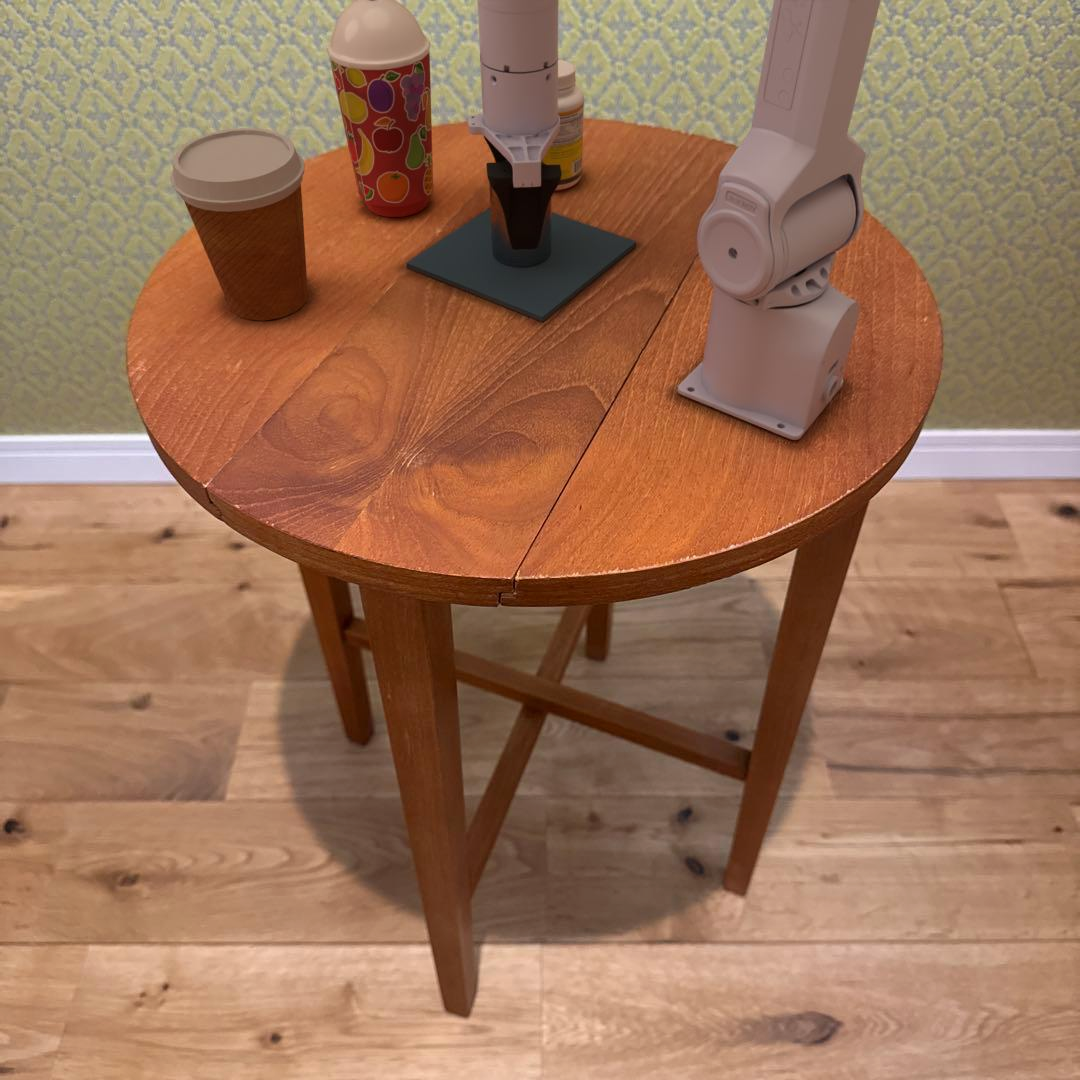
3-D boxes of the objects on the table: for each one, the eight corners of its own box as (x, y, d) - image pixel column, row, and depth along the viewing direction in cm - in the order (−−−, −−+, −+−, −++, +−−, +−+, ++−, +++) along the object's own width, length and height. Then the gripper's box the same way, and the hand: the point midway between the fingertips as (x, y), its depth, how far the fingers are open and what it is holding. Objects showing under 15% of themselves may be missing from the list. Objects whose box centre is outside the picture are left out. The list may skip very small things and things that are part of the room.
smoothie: (393, 173, 93) (365, -64, 79) (461, 197, 90) (444, -46, 75) (332, 208, 88) (290, -37, 74) (401, 235, 85) (371, -17, 71)
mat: (636, 246, 84) (636, 241, 83) (542, 322, 76) (542, 316, 75) (506, 201, 89) (506, 196, 89) (406, 267, 81) (406, 262, 81)
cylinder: (562, 247, 82) (563, 168, 77) (528, 273, 80) (527, 193, 75) (515, 230, 84) (513, 152, 79) (480, 255, 82) (476, 175, 77)
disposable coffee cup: (184, 301, 78) (139, 155, 69) (281, 255, 83) (250, 114, 74) (255, 348, 74) (216, 199, 65) (352, 297, 78) (328, 151, 70)
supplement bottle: (516, 170, 93) (513, 59, 86) (570, 162, 95) (572, 52, 87) (532, 197, 90) (531, 83, 82) (589, 188, 91) (593, 75, 83)
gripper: (461, 24, 76) (471, 190, 85) (467, 101, 66) (477, 278, 75) (551, 21, 76) (551, 186, 86) (570, 97, 66) (567, 274, 76)
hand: (522, 229), depth 81 cm, fingers closed on cylinder, 5 cm apart
